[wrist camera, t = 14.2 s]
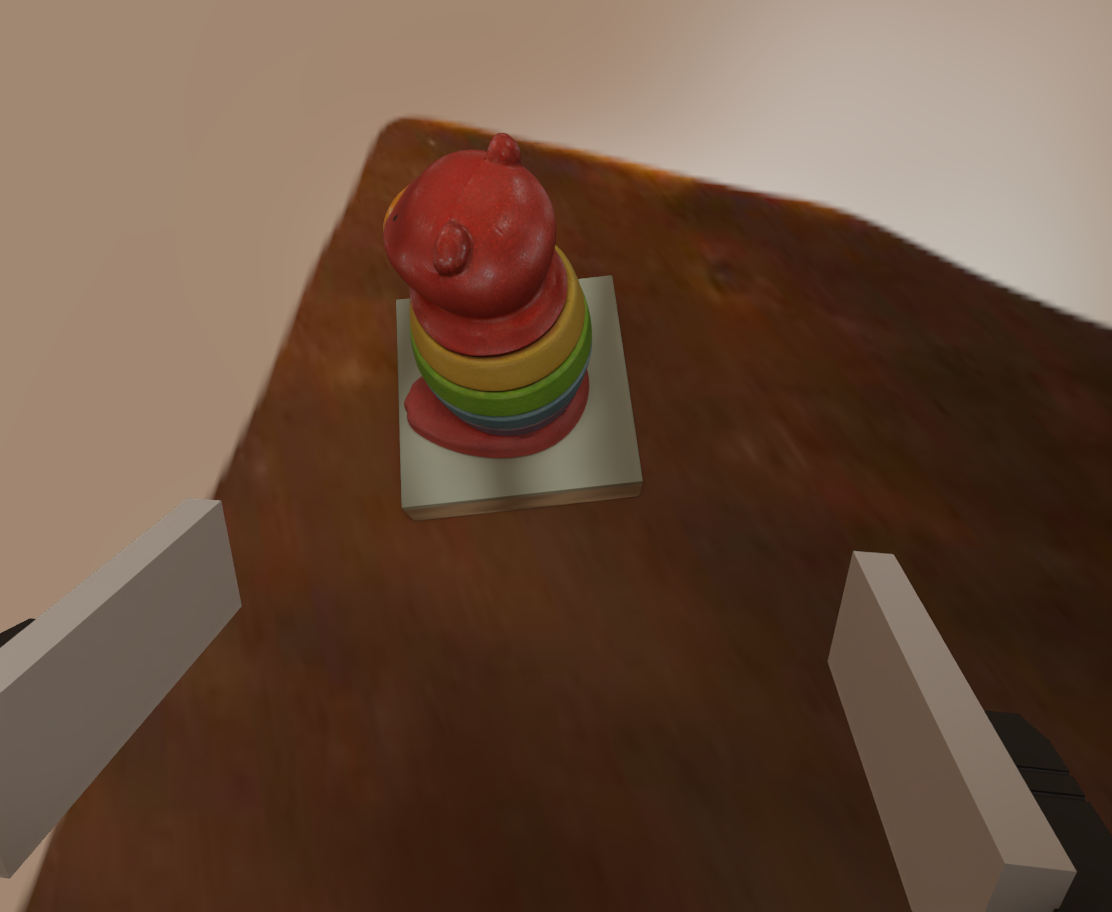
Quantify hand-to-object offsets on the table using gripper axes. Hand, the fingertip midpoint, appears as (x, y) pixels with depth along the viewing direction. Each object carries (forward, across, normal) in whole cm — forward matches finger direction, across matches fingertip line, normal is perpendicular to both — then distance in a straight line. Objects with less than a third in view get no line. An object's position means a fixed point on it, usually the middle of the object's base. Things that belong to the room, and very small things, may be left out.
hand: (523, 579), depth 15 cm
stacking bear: (+29, -5, -6) cm, 30 cm away
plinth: (+31, -5, -8) cm, 32 cm away
